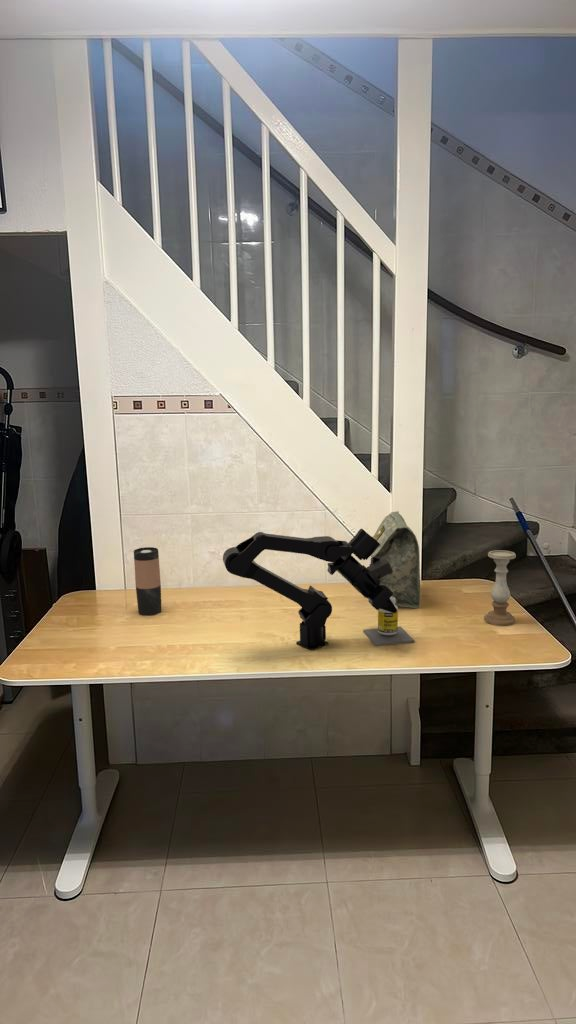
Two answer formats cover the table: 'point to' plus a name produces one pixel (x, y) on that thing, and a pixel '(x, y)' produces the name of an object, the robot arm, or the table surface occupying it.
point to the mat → (388, 637)
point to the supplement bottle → (388, 620)
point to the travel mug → (147, 580)
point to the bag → (399, 559)
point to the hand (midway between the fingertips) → (392, 608)
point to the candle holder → (500, 590)
